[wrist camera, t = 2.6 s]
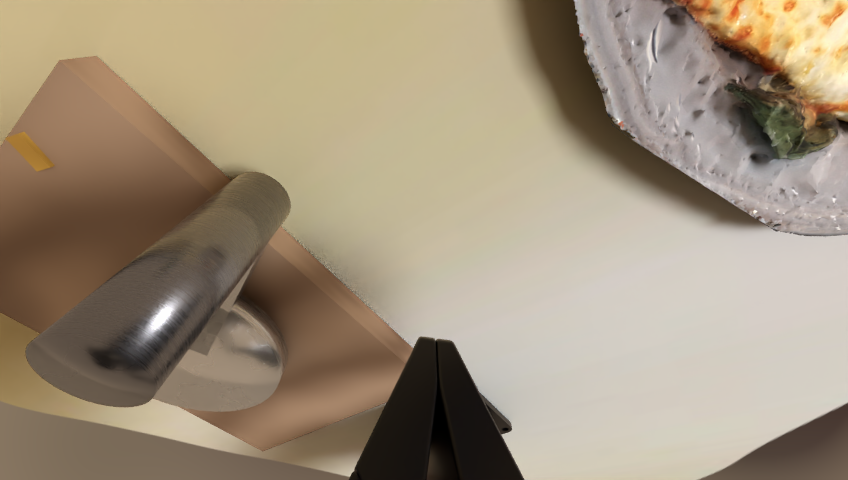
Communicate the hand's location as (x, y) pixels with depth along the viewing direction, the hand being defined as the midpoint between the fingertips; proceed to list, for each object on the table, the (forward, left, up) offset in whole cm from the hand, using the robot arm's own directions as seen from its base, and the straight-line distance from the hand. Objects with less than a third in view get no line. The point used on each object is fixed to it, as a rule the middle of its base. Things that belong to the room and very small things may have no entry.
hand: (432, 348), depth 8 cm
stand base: (+1, +15, -9) cm, 17 cm away
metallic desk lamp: (+2, +12, -7) cm, 14 cm away
